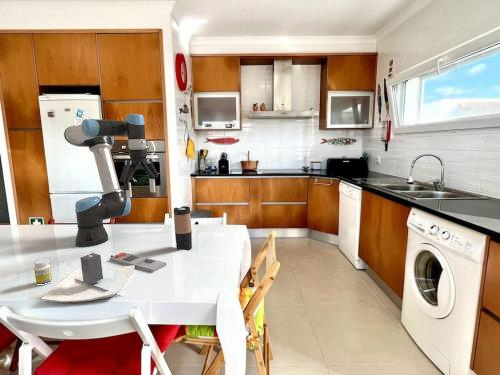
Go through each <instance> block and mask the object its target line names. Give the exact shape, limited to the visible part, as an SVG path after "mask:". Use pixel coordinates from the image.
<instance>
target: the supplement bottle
mask: <svg viewBox="0 0 500 375" xmlns="http://www.w3.org/2000/svg"><path fill="white" fill-rule="evenodd" d="M51 270H52V269H51V265H50V264H49V260H48V259H45V258H44V259H39V260H36V261H35V262H34V276H35V283H36V285H37V284H45V283H48V282H50V283H52V282H53V276H52V271H51ZM51 281H52V282H51Z"/></svg>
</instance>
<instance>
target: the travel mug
mask: <svg viewBox="0 0 500 375" xmlns="http://www.w3.org/2000/svg"><path fill="white" fill-rule="evenodd" d="M173 221H174V222H173V223H174V237H175V247H176V249H177V250H181V251H191V250H192V248H193V240H192V239H193V238H192V218H191V207H190V206H183V205H182V206H181V207H174V208H173Z"/></svg>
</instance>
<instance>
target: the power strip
mask: <svg viewBox="0 0 500 375" xmlns="http://www.w3.org/2000/svg"><path fill="white" fill-rule="evenodd" d="M109 261H110V262H113V263H117V264H120V265H124V266H132V265H134V266H135V268H134V269H139V270H142V271H147V272H150V273H155V272H157V271H159V270H160V269H163V268H165V267H166V266H167V262H164V261H161V260H157V259H153V258H148V257H145V256H140V255H136V254H131V253H127V252H120V253H118V254H115V255H110V257H109Z"/></svg>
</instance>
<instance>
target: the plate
mask: <svg viewBox="0 0 500 375" xmlns="http://www.w3.org/2000/svg"><path fill="white" fill-rule="evenodd" d="M135 269H136V268H135V266H134V265H132V266H127V265H124V266H113V267H112V266H111V267H110V266H107V267H102V272H103V271H104V272H105V271H118V272H121V273H123V274H124V275H125V277H124V279H123V281H122V282H121V283H120V284H119V285H118V286H117V287H115V288H113V289H111V290H108V289H105V288H103V287H100V286H97V285H94V284H89V283H86V282H83V280H80V279H77V278H78V277H81V276H83V275H82V267H81V268H76V269H75V270H74V271H72V272H71V273H70V274H68V275H67V276H66V277H65V278H64V279H63V280H61V281H60V282H59V283H58V284H56V285H55V286H53V288H52V289H50V290H49V291H48V292H47V293H45V294H44V295H43V296H42V297H41V301H45V302H54V303H81V302H91V301H97V300H100V299H101V300H102V299H107V298H112V297H113V296H114V295H116V294H117V293H118V292H119V291H121V290H122V289H123V288H124V287H125V286H126V285H127V284H128V283H129V281H130V279H131V277H132V276H133V274H134V271H135Z"/></svg>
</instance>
